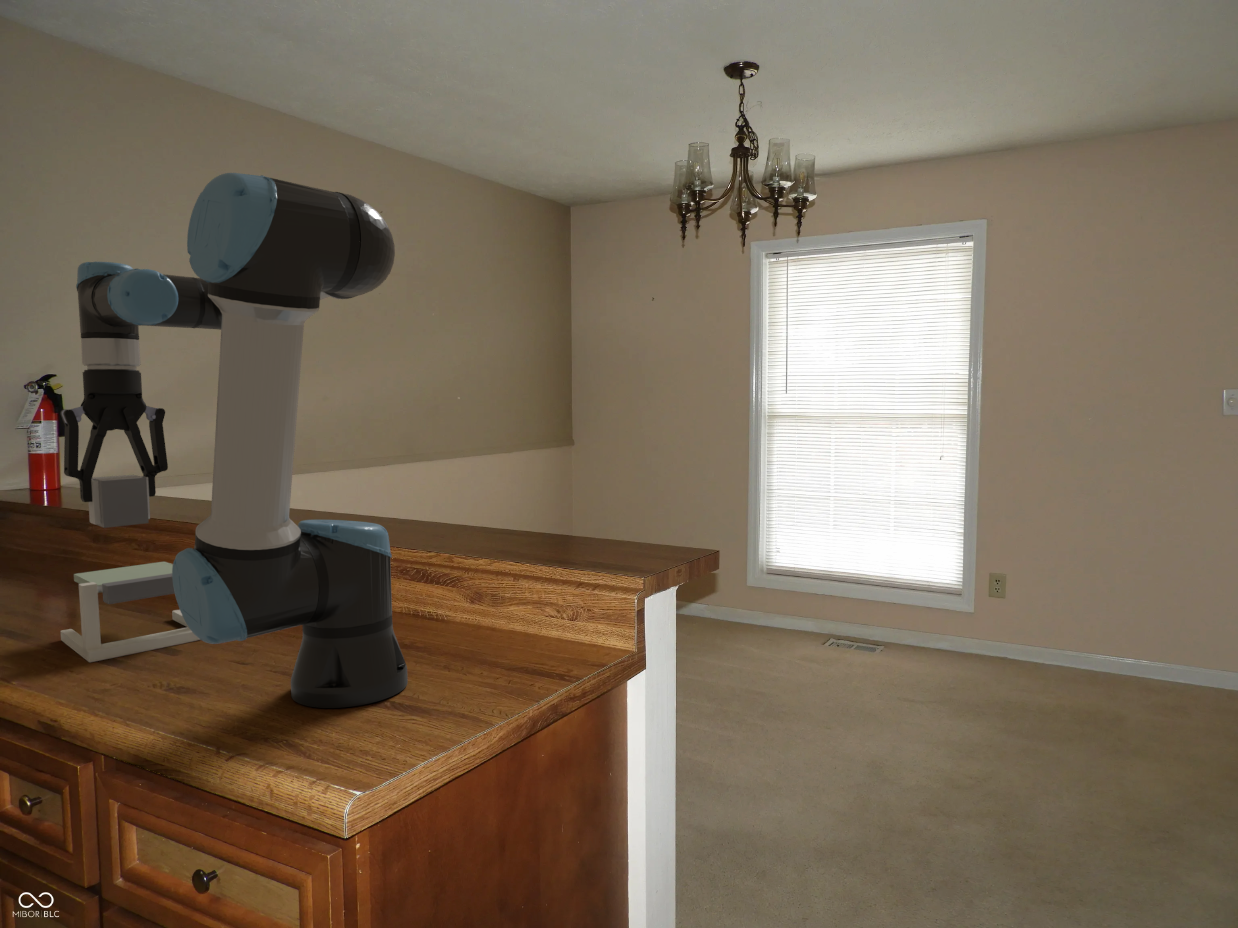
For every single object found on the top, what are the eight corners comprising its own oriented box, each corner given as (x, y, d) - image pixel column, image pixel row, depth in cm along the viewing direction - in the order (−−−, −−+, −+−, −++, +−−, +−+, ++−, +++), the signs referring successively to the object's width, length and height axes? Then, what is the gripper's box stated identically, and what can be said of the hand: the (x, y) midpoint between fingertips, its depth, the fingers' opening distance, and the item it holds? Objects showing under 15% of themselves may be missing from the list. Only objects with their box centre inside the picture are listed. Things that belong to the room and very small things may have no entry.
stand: (218, 635, 139) (214, 568, 138) (89, 662, 126) (84, 587, 125) (182, 617, 151) (178, 555, 150) (61, 640, 138) (56, 571, 137)
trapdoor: (201, 588, 136) (200, 572, 136) (105, 604, 126) (103, 586, 126) (165, 575, 149) (164, 559, 149) (74, 588, 139) (73, 572, 139)
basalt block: (148, 523, 126) (146, 477, 126) (103, 527, 122) (101, 480, 121) (135, 518, 130) (133, 474, 130) (92, 523, 126) (89, 477, 125)
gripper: (171, 370, 134) (178, 511, 136) (29, 367, 120) (40, 525, 122) (188, 369, 128) (195, 516, 131) (42, 366, 115) (53, 531, 117)
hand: (120, 520), depth 126 cm, fingers closed on basalt block, 6 cm apart
